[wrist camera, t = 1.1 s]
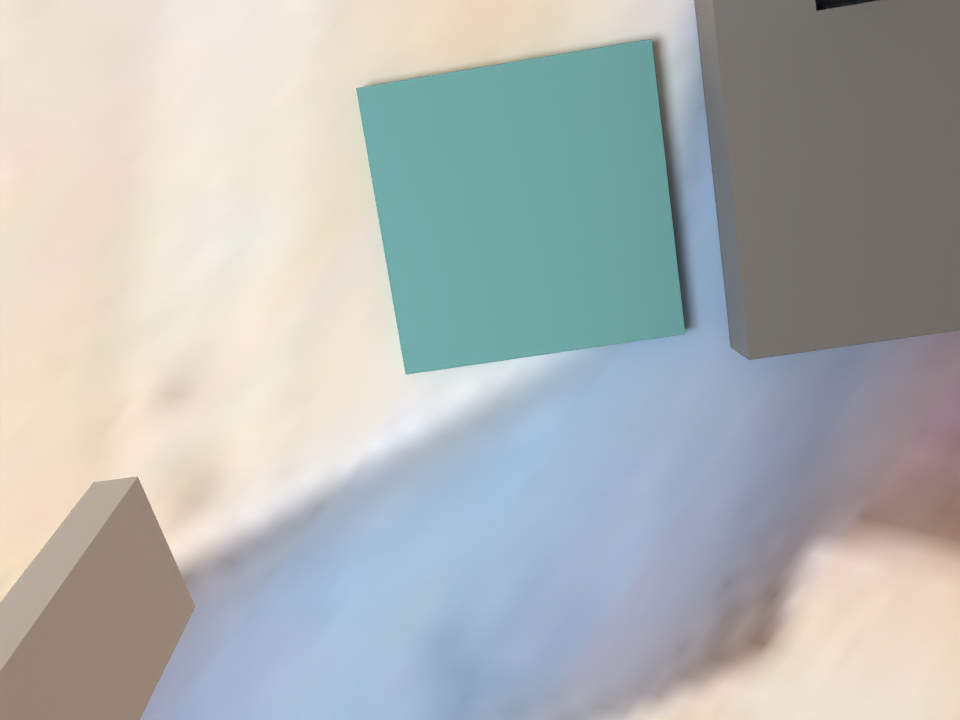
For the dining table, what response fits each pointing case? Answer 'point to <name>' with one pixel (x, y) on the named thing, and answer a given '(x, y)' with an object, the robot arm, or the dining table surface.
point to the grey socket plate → (834, 169)
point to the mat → (525, 207)
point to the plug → (839, 3)
